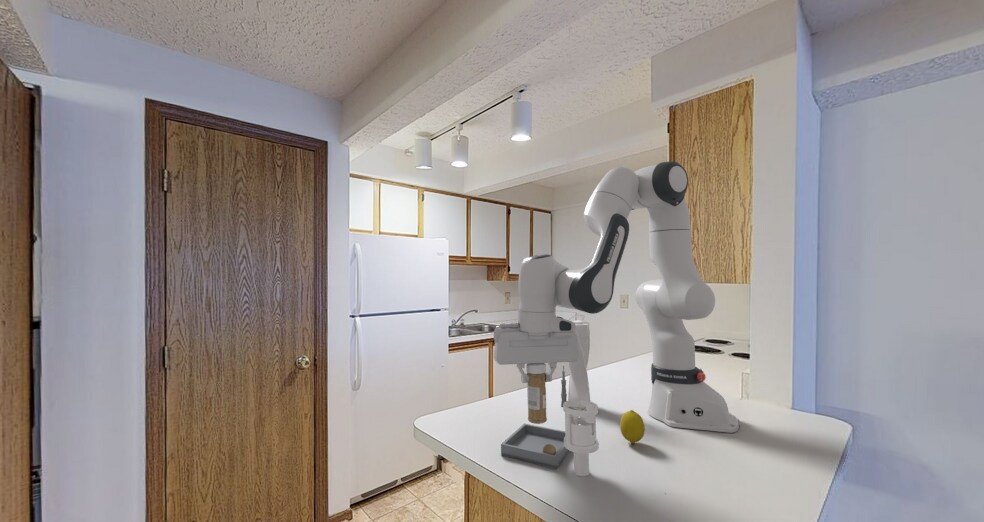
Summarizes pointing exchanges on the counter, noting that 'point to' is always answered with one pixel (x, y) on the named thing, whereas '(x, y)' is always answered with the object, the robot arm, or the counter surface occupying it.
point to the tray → (535, 445)
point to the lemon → (632, 426)
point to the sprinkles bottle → (536, 393)
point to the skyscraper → (578, 368)
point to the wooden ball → (549, 449)
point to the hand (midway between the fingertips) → (536, 381)
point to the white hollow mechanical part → (581, 433)
